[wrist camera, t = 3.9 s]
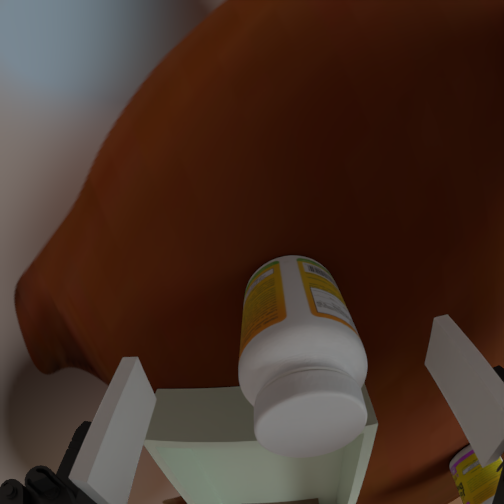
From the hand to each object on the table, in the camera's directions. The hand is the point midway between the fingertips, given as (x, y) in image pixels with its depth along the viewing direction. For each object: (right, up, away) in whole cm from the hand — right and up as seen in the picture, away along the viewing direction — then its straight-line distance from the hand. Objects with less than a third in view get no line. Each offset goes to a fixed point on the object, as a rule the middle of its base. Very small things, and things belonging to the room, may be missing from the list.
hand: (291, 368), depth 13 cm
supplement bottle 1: (+1, +2, +6) cm, 6 cm away
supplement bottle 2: (+26, -21, +14) cm, 36 cm away
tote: (+1, -17, +14) cm, 22 cm away
